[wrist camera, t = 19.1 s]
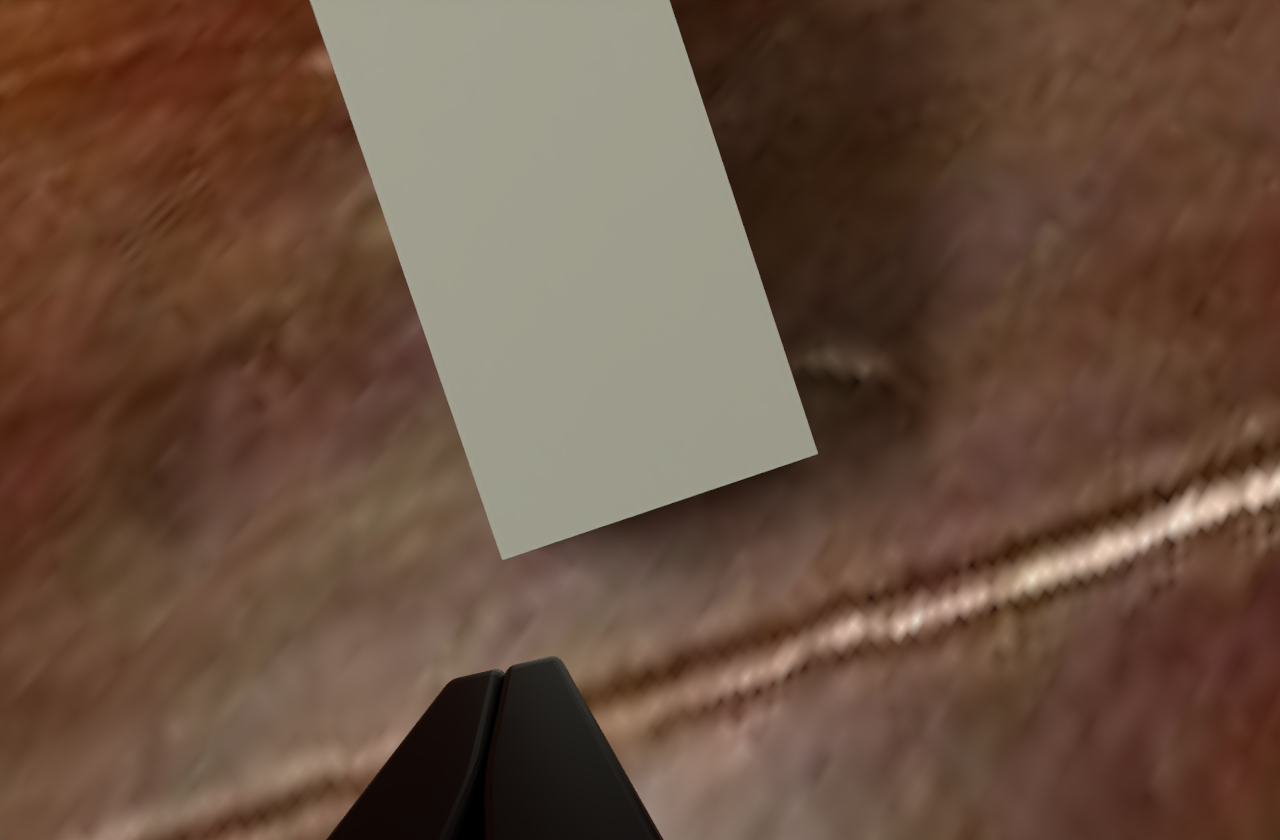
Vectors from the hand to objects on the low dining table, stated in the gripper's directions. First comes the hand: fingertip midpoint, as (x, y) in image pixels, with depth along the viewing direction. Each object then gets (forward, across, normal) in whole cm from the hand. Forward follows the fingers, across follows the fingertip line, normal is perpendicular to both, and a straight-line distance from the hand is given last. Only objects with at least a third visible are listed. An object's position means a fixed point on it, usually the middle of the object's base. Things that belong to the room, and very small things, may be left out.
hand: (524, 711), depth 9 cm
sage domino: (+9, -1, +4) cm, 10 cm away
